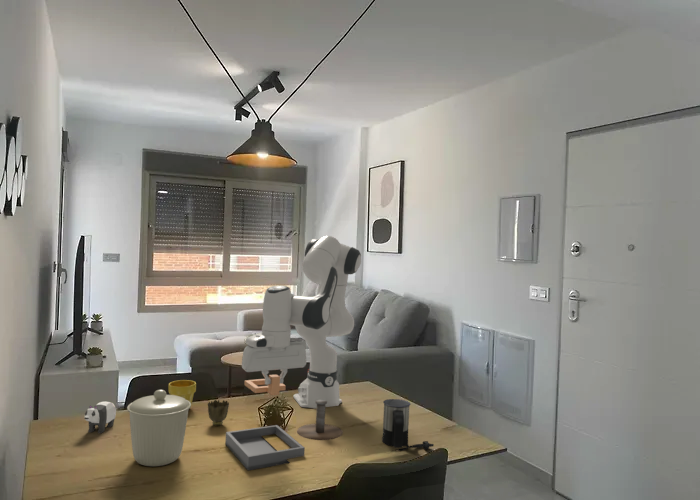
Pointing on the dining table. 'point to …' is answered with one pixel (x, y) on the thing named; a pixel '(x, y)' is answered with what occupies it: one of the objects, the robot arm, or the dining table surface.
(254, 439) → the tray
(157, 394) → the canister
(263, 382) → the tabbed ring
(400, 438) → the milk frother
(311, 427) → the stand
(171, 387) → the plant pot
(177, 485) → the dining table surface
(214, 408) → the cup
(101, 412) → the giant panda
